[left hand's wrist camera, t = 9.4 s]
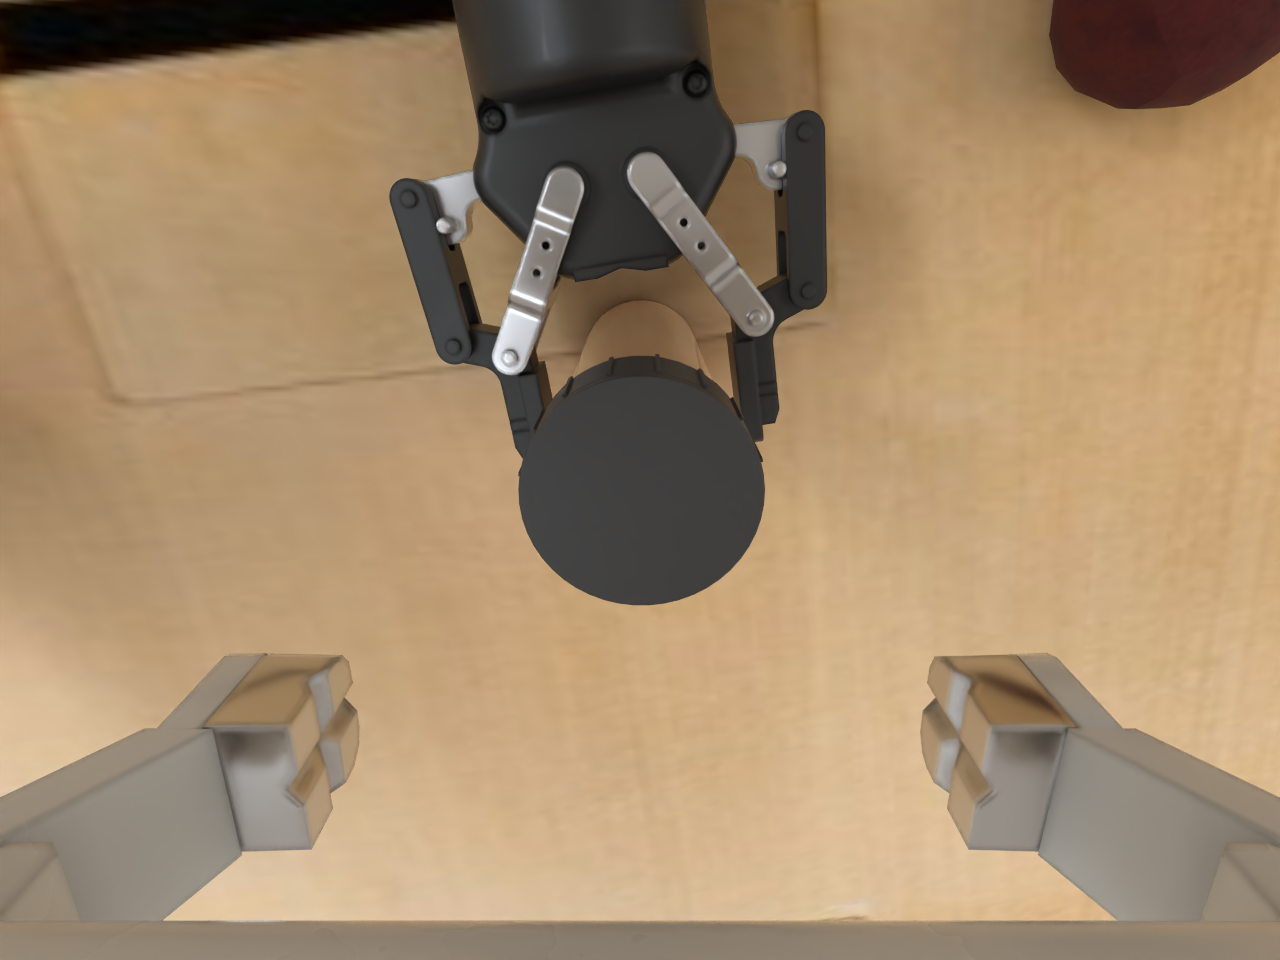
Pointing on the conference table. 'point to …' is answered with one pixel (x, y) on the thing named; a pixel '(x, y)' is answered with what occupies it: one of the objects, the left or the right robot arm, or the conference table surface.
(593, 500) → the lid
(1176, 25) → the potato
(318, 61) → the conference table surface
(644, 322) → the jar
